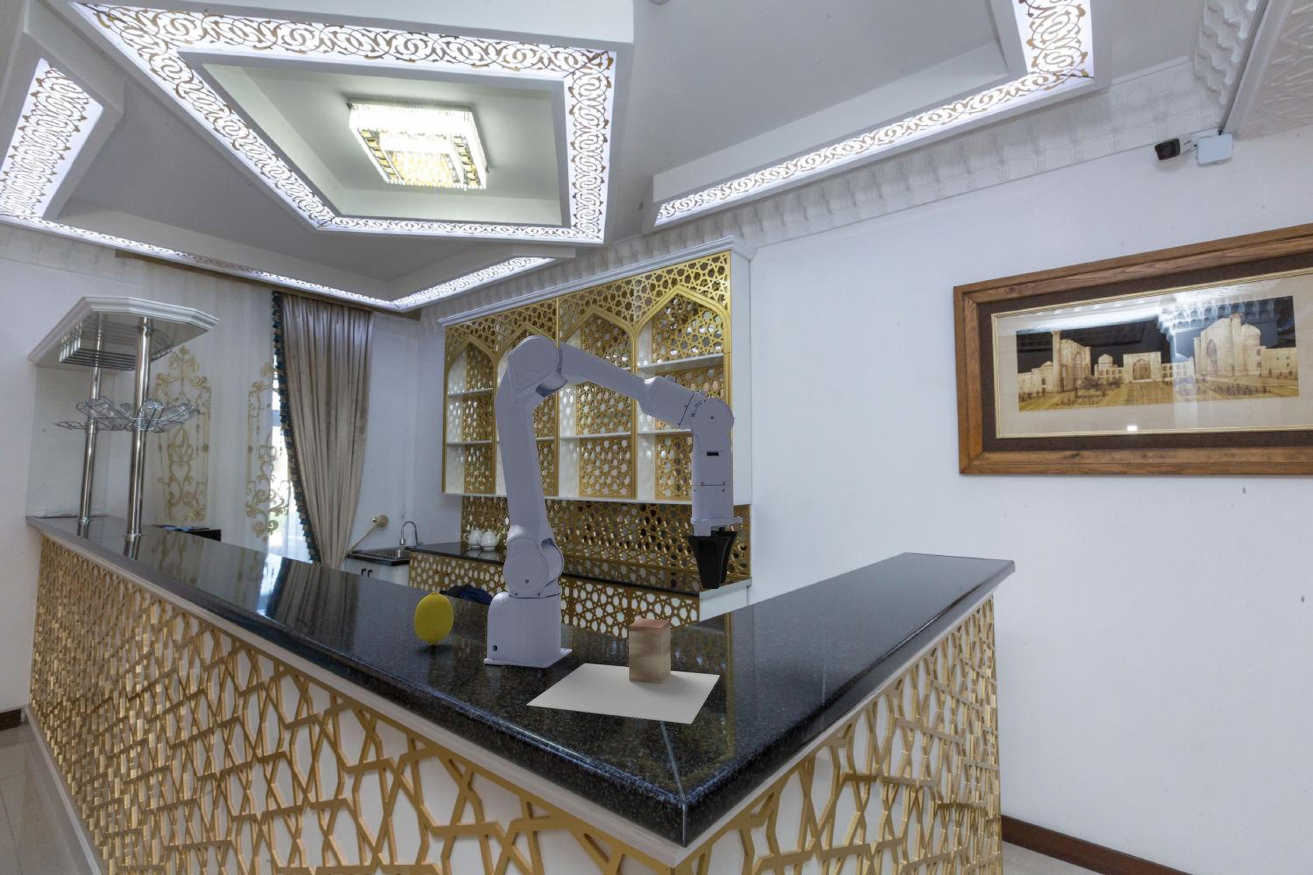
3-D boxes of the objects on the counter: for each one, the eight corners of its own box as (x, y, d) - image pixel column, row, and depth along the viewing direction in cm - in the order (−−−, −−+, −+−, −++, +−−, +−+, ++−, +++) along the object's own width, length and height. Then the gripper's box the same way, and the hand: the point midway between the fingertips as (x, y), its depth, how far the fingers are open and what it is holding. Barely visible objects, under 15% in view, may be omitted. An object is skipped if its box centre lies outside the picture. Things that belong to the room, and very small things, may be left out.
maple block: (629, 680, 68) (628, 625, 68) (640, 670, 72) (639, 618, 72) (661, 684, 67) (660, 627, 67) (670, 673, 70) (670, 620, 71)
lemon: (449, 639, 89) (450, 587, 90) (455, 647, 84) (456, 592, 85) (411, 644, 86) (412, 590, 87) (415, 653, 82) (416, 596, 82)
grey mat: (526, 708, 61) (526, 704, 61) (584, 666, 75) (584, 663, 75) (691, 727, 55) (691, 723, 55) (720, 678, 70) (720, 675, 70)
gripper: (732, 485, 71) (734, 596, 70) (748, 485, 85) (750, 578, 84) (677, 485, 73) (678, 594, 72) (702, 485, 87) (703, 576, 86)
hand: (714, 585), depth 78 cm, fingers open, 4 cm apart
